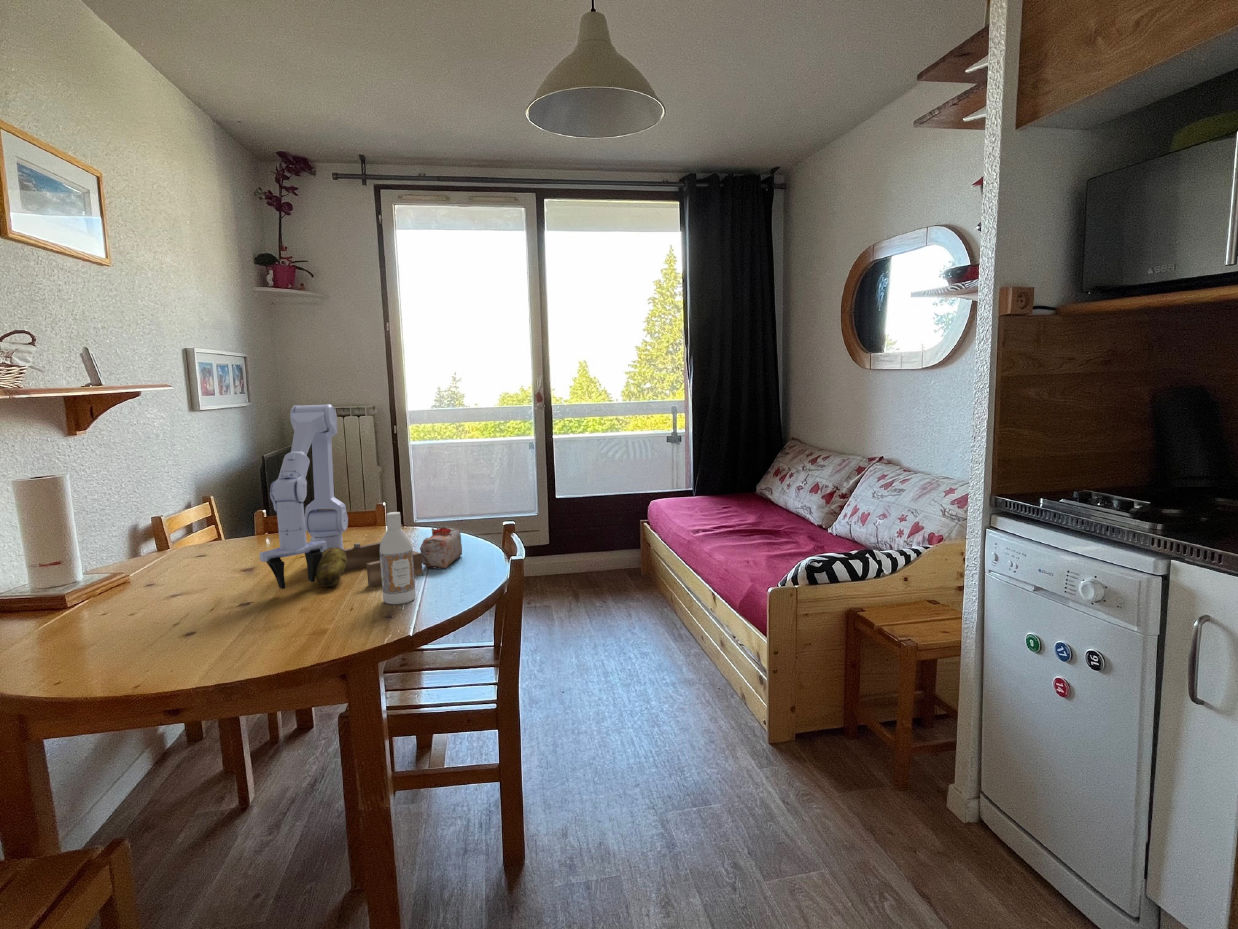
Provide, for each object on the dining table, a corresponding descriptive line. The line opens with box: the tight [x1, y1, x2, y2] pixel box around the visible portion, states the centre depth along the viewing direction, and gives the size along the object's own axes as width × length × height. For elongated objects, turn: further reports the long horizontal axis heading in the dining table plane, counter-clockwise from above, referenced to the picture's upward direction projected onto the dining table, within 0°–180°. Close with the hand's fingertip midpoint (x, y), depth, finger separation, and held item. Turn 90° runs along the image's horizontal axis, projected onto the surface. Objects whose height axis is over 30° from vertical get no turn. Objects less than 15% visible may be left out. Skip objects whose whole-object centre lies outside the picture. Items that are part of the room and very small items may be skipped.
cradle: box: [343, 541, 423, 588], centre depth 168 cm, size 21×14×6 cm, turn 47°
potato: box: [315, 547, 347, 588], centre depth 161 cm, size 8×13×8 cm, turn 179°
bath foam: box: [380, 511, 416, 605], centre depth 145 cm, size 7×7×20 cm
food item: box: [419, 526, 463, 569], centre depth 176 cm, size 14×8×10 cm, turn 175°
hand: (297, 584), depth 154 cm, fingers open, 6 cm apart
